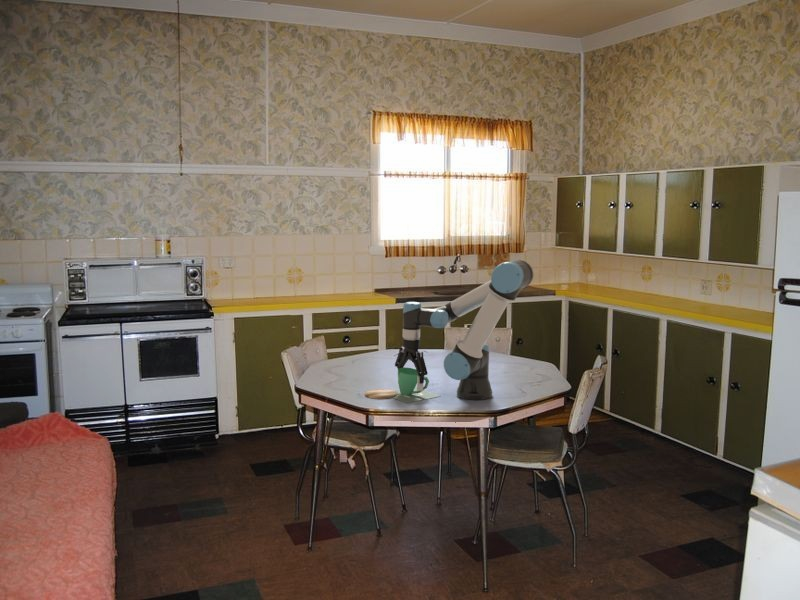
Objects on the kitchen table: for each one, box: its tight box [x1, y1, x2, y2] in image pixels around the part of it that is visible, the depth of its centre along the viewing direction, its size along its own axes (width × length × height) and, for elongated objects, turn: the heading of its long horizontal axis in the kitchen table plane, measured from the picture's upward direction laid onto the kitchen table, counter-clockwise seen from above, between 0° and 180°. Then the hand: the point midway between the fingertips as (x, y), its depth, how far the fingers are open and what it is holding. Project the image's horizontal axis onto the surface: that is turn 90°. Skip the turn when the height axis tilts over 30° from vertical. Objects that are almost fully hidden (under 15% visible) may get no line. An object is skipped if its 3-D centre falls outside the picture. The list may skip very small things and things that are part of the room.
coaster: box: [364, 388, 398, 400], centre depth 316 cm, size 14×14×1 cm
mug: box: [397, 366, 430, 395], centre depth 314 cm, size 15×10×10 cm
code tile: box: [392, 387, 441, 404], centre depth 315 cm, size 18×18×1 cm
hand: (410, 387), depth 315 cm, fingers open, 13 cm apart
